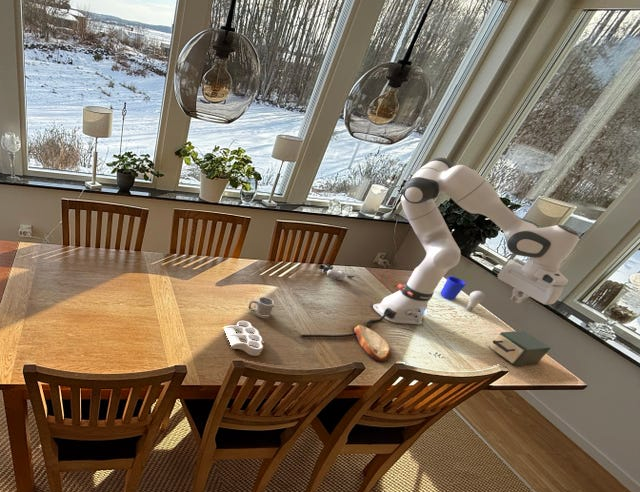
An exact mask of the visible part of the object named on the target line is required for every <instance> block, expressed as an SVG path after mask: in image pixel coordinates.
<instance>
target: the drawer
mask: <svg viewBox="0 0 640 492" xmlns="http://www.w3.org/2000/svg"><path fill="white" fill-rule="evenodd" d="M491 348H492V349H493V350H495V351H496V352H497V353H496V352H495V351H494V352H495V353H496V354H498V353H499V354H500V355H501V356H500V355H499V354H498V355H499V356H500V357H502V356H503V357H504V358H506V359H507V360H508V361H507V360H506V359H505V360H506V361H507V362H509V361H510V362H511V363H515V361H516V360H517V359H518V358H519V357H520V355H521V354H522V353H523V352H524V349H522V348H520V347H519V346H517V345H516V344H514V343H513V342H512V341H510V340H509V339H507V338H506V337H505V336H502V335H500V334H499V335H498V336H497V337H496V339H494V340H493V341H492V344H491V345H490V346H489V349H491ZM492 349H491V350H492ZM493 350H492V351H493ZM503 357H502V358H503ZM504 358H503V359H504ZM510 362H509V363H510ZM511 363H510V364H511Z"/></svg>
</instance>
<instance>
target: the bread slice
mask: <svg viewBox="0 0 640 492" xmlns="http://www.w3.org/2000/svg"><path fill="white" fill-rule="evenodd" d="M364 326H365V325H361V324H357V326H355V327H354V333H355V332H356V335H355V337H356V338H357V341H358V343H359V344H360V346H361V348H362V349H363V350H364V351H365V353H366V354H367V355H368V356H369V357H370V358H372V359H374V360H375V361H377V362H386V361H387V360H388V359H389V358H390V356H391V348H390V344H389V343H388V342H387V341H386V339H384V338H383V337H381V336H380V334H378V333H377V332H376V331H374V330H373V329H371V328H369V327H368V326H367V327H364Z"/></svg>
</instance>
